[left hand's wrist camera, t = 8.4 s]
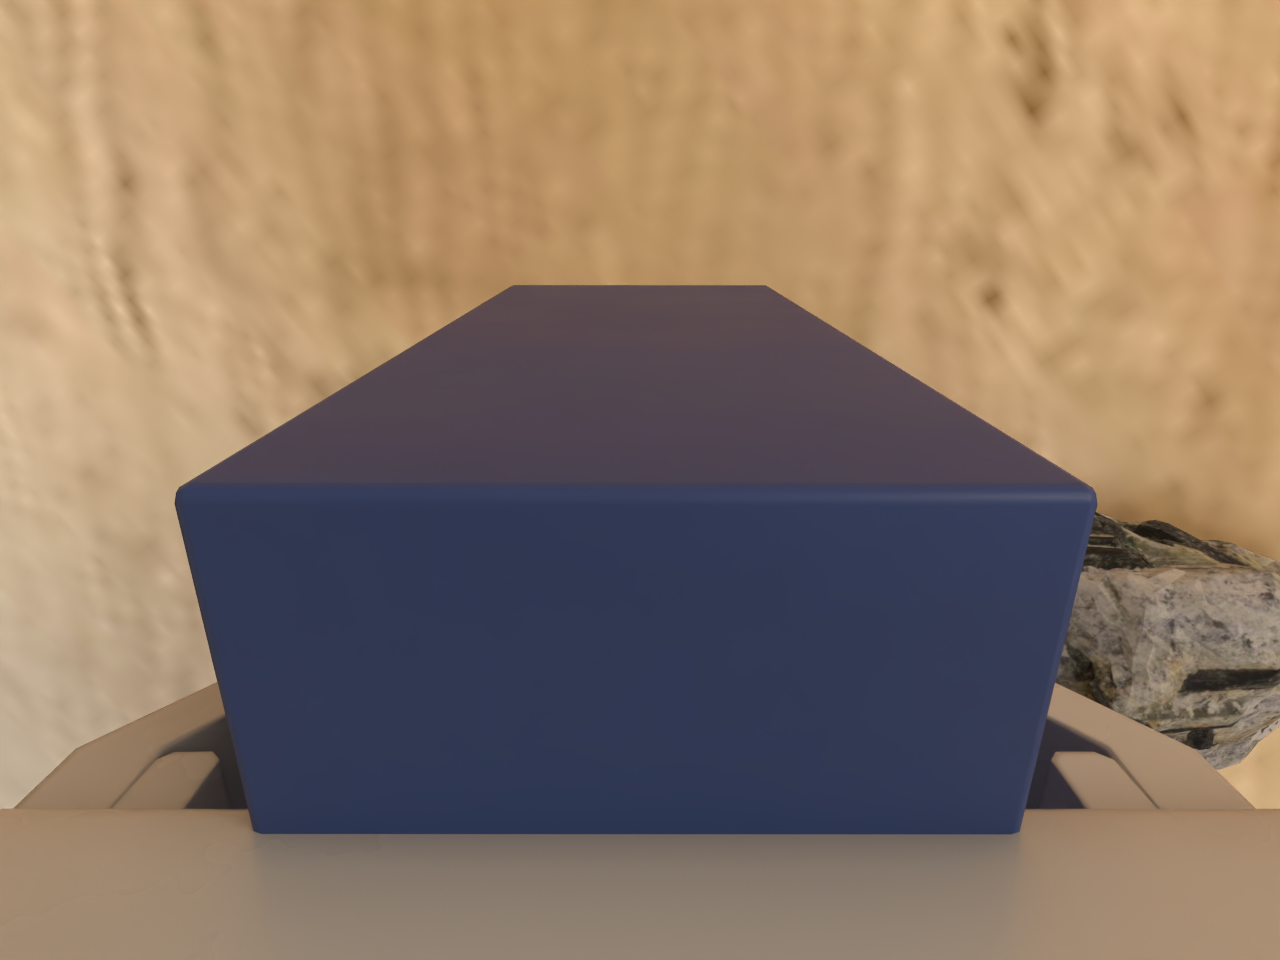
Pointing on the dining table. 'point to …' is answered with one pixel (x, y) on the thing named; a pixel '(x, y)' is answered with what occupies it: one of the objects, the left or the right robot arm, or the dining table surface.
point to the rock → (1177, 636)
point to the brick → (636, 583)
